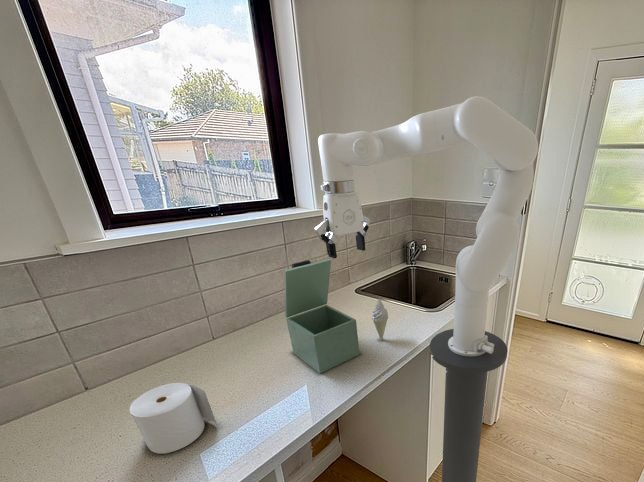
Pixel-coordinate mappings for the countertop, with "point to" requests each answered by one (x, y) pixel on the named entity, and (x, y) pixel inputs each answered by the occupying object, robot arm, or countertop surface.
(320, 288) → the bin lid
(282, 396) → the countertop surface
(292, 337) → the bin
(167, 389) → the toilet tissue
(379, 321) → the ice cream cone
